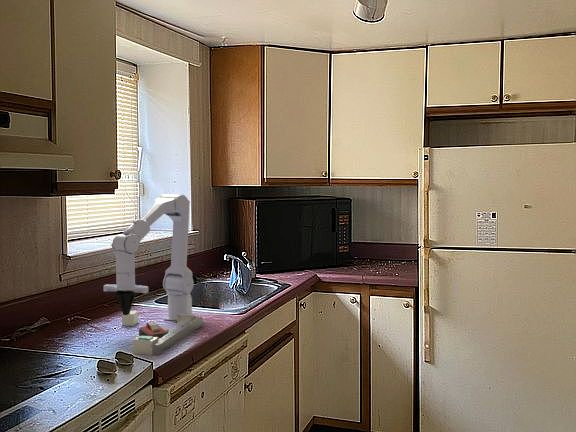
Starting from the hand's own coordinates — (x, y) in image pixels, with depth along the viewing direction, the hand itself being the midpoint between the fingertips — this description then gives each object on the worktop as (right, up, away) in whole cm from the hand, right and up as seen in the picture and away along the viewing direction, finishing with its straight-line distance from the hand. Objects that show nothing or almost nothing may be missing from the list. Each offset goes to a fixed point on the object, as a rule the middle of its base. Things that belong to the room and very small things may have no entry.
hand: (126, 314), depth 195 cm
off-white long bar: (+15, -7, -4) cm, 17 cm away
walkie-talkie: (+9, -7, -1) cm, 11 cm away
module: (-2, -6, +14) cm, 15 cm away
